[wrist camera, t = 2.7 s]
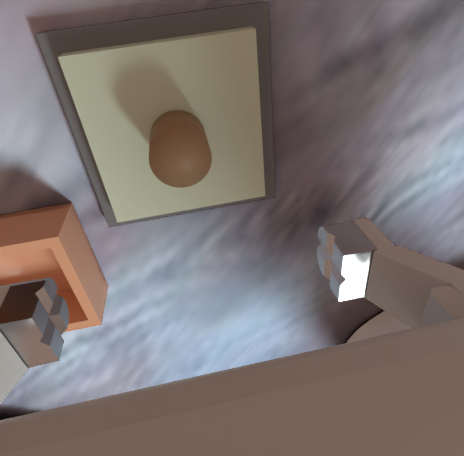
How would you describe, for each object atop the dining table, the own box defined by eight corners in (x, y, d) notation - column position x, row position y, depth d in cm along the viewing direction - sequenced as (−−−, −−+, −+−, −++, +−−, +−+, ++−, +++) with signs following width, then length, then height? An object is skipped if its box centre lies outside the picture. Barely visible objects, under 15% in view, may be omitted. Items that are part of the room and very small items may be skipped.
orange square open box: (71, 202, 24) (57, 236, 21) (108, 285, 29) (101, 324, 25) (-51, 223, 23) (-85, 262, 20) (6, 305, 28) (-13, 347, 25)
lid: (251, 26, 19) (271, 36, 15) (261, 187, 25) (278, 221, 21) (63, 53, 18) (39, 70, 15) (119, 212, 24) (112, 252, 21)
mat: (264, 1, 19) (268, 2, 19) (272, 192, 26) (275, 197, 26) (39, 32, 18) (35, 34, 18) (110, 221, 25) (109, 227, 25)
